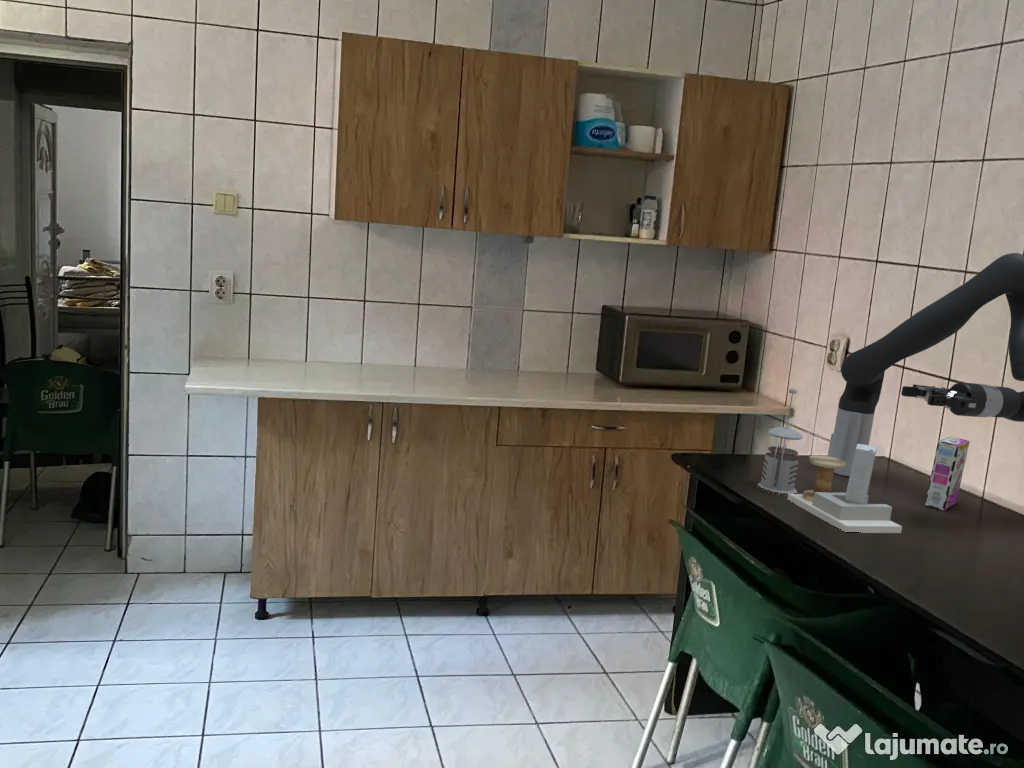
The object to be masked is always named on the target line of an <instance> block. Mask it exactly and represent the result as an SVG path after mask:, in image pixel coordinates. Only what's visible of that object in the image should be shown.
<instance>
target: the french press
mask: <svg viewBox="0 0 1024 768" xmlns="http://www.w3.org/2000/svg"><path fill="white" fill-rule="evenodd" d="M788 393H789V394H791V397H790V404H789V409H788V415H787V422H786V426H783V427H782V426H779V427H774V428H772V429H770V430H768V435H770V436H771V437H774V438H778V439H783V447H782V446H780V441H779V442H777V444H776V445H775V446H772V445H771V446H768V447H767V450H768V451H769V452H765V456H764V459H765V460H766V461H765V460H764V461H763V464H764V465H763V467H762V469H763V470H762V476H761V481H760V482H758V483H757V484H758V486H760V487H761V488H764V489H766V490H770V491H772V492H778V493H782V494H783V493H785V494H786V493H787V494H794V493H797V494H798V491H797V489H796V488H795V485H796V479H797V478H796V476H797V473H798V472H797V471H798V466H799V458H798V457H797V456H798V455H799V452H798V451H797V450H795V449H792V448H787V443H786V440H789V441H797V440H802V439H803V438H804V436H803V435H802V434H801V433H800V432H799V431H797V430H796V429H793V428H790V427H789V426H788V425H789V420H790V414H791V408H792V401H793V394H794V395H796V394H797V393H798V391H797V389H796V388H794V387H792V388H791V387H790V388H789V389H788ZM792 472H793V473H792ZM791 482H792V483H791Z"/></svg>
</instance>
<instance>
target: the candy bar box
mask: <svg viewBox="0 0 1024 768" xmlns="http://www.w3.org/2000/svg"><path fill="white" fill-rule="evenodd" d="M970 443H971V442H970V440H967V439H963V438H959V437H953V436H948V437H945V438H943V439H940V440H938V441H937V446H936V450H935V453H934V454H935V455H934V460H933V462H932V463H933V464H932V469H931V473H930V478H929V483H928V489H927V493H926V496H925V503H924V506H925V507H927V508H931V509H935V510H939V511H943V512H945V511H947V510H948V509H949V508H951V507H953V506H955V505H956V504H957V502H958V496H959V492H960V487H961V482H962V478H963V473H964V469H965V464H966V460H967V455H968V451H969V446H970Z"/></svg>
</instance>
